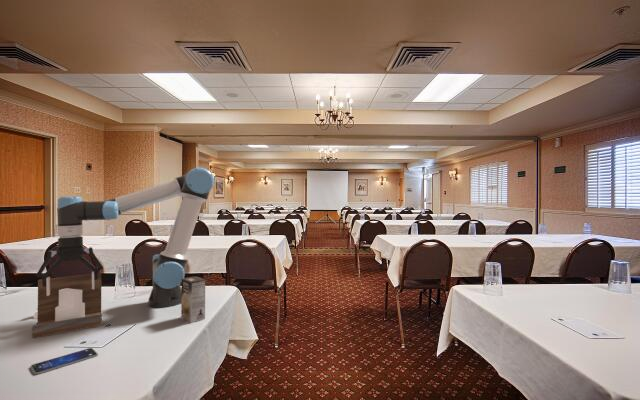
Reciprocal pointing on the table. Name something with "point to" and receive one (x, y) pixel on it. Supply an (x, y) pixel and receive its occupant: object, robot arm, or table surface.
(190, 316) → the coffee box
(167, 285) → the robot arm
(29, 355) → the table surface
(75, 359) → the smartphone
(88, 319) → the wooden arch stand
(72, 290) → the white stepped block
